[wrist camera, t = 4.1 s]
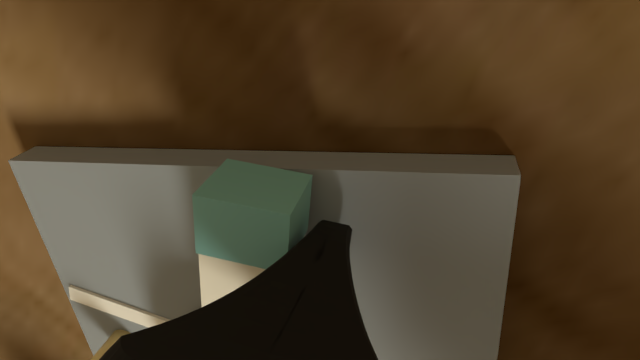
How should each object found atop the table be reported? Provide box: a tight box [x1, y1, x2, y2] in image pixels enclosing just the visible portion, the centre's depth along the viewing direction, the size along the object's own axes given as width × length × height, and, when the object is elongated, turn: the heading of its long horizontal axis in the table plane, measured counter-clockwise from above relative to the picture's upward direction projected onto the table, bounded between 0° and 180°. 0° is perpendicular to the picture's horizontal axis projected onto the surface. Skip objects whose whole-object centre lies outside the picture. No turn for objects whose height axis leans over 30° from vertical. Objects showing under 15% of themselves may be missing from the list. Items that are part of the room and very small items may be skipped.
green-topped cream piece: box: [192, 159, 313, 307], centre depth 15 cm, size 11×6×2 cm, turn 175°
